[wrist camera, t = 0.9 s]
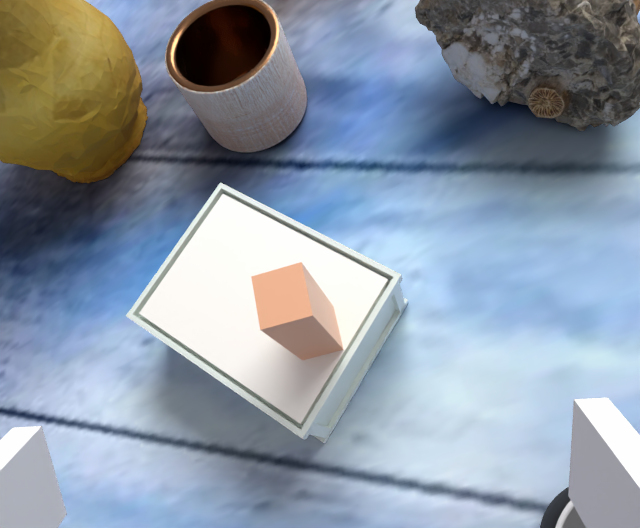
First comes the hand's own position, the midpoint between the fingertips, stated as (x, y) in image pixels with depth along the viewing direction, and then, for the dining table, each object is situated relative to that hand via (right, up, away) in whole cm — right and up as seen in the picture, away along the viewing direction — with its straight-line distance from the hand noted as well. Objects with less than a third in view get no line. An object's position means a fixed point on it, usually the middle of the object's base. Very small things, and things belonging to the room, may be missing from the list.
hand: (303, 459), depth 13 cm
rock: (+22, +23, +35) cm, 47 cm away
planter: (-6, +21, +41) cm, 47 cm away
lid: (-4, +2, +27) cm, 27 cm away
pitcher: (-24, +20, +46) cm, 55 cm away
